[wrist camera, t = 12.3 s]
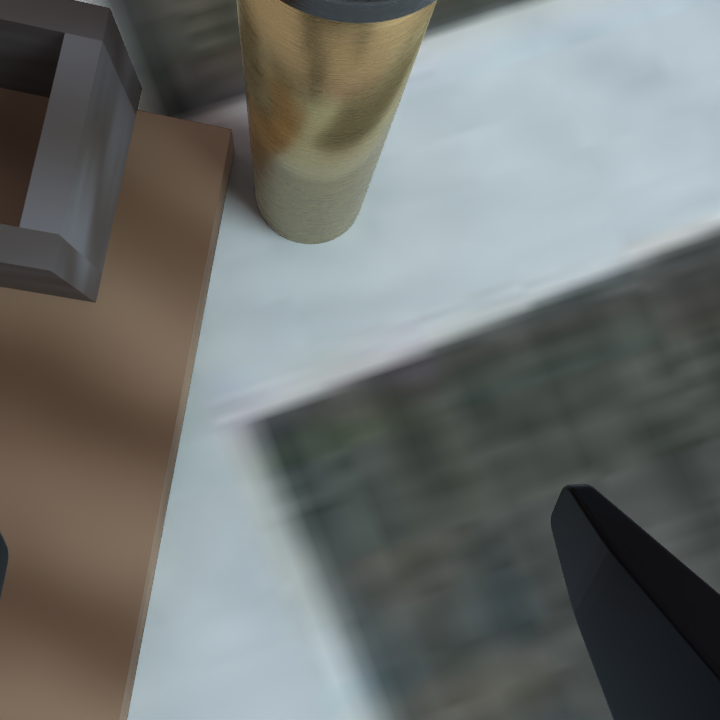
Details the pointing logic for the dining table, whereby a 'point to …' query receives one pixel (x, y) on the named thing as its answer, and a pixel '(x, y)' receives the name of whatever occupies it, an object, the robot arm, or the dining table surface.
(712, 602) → the robot arm
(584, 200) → the dining table surface
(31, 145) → the board with square socket
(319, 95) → the brass peg
